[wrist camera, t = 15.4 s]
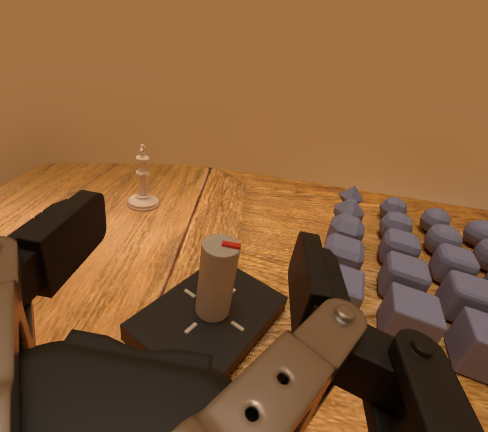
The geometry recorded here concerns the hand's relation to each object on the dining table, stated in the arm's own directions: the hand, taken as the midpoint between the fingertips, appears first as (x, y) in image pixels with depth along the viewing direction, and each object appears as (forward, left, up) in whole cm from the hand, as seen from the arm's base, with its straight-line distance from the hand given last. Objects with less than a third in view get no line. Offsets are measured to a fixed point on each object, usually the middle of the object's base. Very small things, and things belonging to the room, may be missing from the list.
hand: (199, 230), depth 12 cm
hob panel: (+10, +5, -19) cm, 22 cm away
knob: (+10, +5, -17) cm, 20 cm away
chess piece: (+21, +29, -19) cm, 41 cm away
